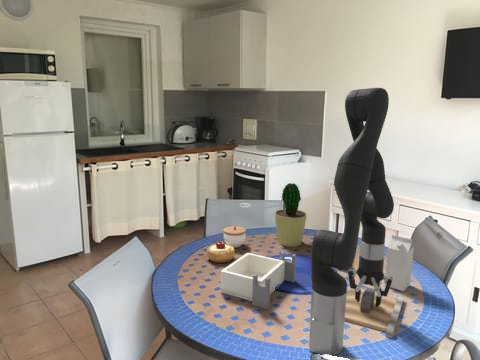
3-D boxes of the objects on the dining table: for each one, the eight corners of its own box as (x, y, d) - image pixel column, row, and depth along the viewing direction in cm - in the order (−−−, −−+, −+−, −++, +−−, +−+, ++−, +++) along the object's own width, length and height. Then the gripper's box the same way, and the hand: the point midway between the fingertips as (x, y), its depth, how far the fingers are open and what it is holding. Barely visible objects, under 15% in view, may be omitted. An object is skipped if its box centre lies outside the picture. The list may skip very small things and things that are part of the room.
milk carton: (390, 279, 152) (395, 232, 148) (409, 285, 148) (415, 237, 144) (384, 286, 147) (388, 237, 143) (403, 292, 142) (409, 242, 138)
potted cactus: (310, 240, 193) (313, 181, 188) (298, 250, 180) (301, 186, 174) (281, 235, 201) (283, 177, 195) (268, 244, 188) (270, 182, 182)
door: (391, 339, 114) (393, 319, 113) (332, 322, 123) (333, 303, 121) (403, 302, 136) (405, 284, 134) (351, 290, 144) (353, 273, 143)
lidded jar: (220, 242, 190) (220, 223, 188) (241, 240, 193) (242, 222, 191) (226, 250, 179) (226, 230, 178) (248, 248, 183) (249, 228, 181)
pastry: (201, 259, 170) (200, 240, 168) (221, 252, 178) (221, 233, 177) (220, 267, 162) (219, 246, 160) (240, 258, 170) (240, 239, 168)
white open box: (267, 309, 129) (268, 279, 127) (217, 294, 138) (217, 266, 136) (295, 280, 150) (296, 254, 148) (249, 269, 159) (250, 245, 157)
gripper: (346, 254, 126) (342, 302, 129) (393, 263, 119) (388, 314, 122) (351, 246, 132) (348, 293, 136) (397, 255, 125) (392, 304, 129)
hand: (367, 303), depth 129 cm, fingers open, 5 cm apart
